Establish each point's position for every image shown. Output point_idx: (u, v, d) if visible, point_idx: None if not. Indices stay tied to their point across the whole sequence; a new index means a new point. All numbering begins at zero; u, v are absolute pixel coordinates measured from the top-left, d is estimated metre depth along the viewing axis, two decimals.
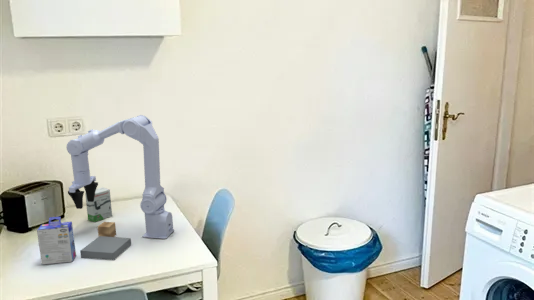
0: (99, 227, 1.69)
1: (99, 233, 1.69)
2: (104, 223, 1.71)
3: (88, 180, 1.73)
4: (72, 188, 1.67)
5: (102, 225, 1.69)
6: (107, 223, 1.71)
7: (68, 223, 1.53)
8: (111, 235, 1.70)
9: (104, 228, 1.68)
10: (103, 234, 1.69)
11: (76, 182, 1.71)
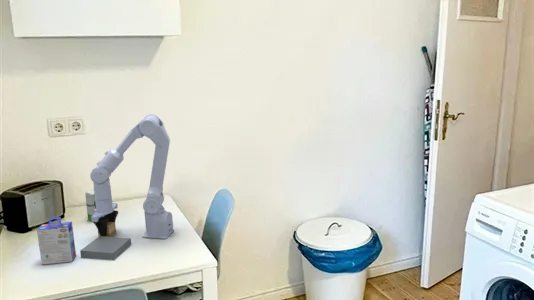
0: None
1: (99, 233, 1.69)
2: None
3: (110, 208, 1.68)
4: (95, 217, 1.62)
5: None
6: (107, 223, 1.71)
7: (68, 223, 1.53)
8: (111, 235, 1.70)
9: None
10: None
11: (98, 211, 1.66)
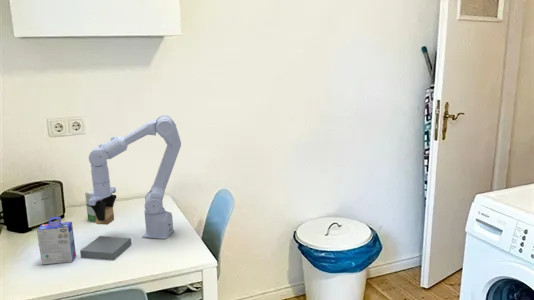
0: None
1: (96, 218, 1.65)
2: None
3: (108, 192, 1.64)
4: (92, 201, 1.58)
5: None
6: (105, 208, 1.67)
7: (68, 223, 1.53)
8: (109, 220, 1.66)
9: None
10: None
11: (96, 194, 1.62)
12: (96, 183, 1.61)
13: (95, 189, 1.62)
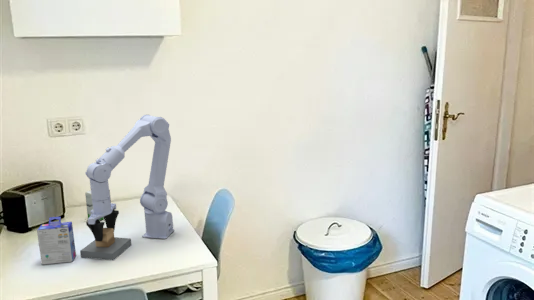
0: None
1: None
2: None
3: (109, 209, 1.55)
4: (92, 219, 1.50)
5: None
6: (105, 229, 1.59)
7: (68, 223, 1.53)
8: (109, 242, 1.58)
9: None
10: (100, 241, 1.57)
11: (95, 212, 1.54)
12: (96, 200, 1.53)
13: (95, 206, 1.53)
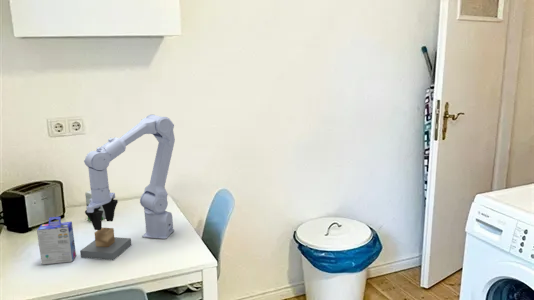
0: (96, 233, 1.57)
1: (96, 240, 1.57)
2: (102, 229, 1.59)
3: (107, 198, 1.54)
4: (90, 208, 1.49)
5: (99, 231, 1.57)
6: (105, 229, 1.59)
7: (68, 223, 1.53)
8: (109, 242, 1.58)
9: (102, 235, 1.56)
10: (100, 241, 1.57)
11: (94, 200, 1.53)
12: (94, 189, 1.52)
13: (93, 195, 1.53)
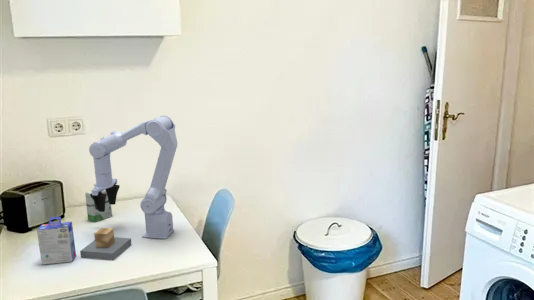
0: (96, 234, 1.56)
1: (96, 240, 1.57)
2: (101, 229, 1.59)
3: (110, 183, 1.71)
4: (95, 191, 1.65)
5: (99, 232, 1.57)
6: (105, 229, 1.59)
7: (68, 223, 1.53)
8: (109, 242, 1.57)
9: (102, 235, 1.56)
10: (101, 241, 1.57)
11: (98, 185, 1.70)
12: (99, 174, 1.69)
13: (98, 180, 1.69)
